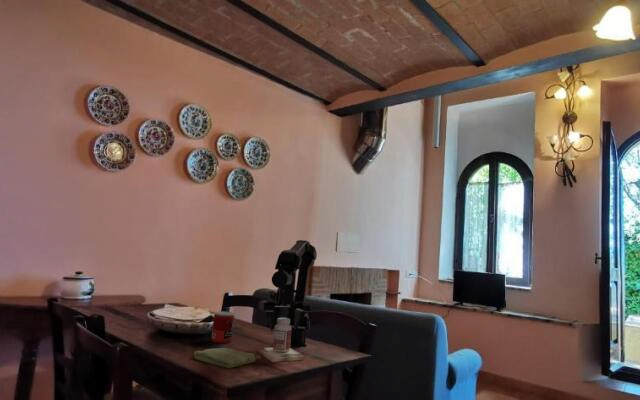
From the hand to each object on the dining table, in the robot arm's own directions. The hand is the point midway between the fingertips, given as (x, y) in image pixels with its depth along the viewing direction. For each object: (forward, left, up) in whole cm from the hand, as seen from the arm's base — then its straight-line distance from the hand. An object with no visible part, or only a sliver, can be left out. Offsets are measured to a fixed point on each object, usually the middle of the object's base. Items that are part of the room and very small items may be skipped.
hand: (283, 330), depth 151 cm
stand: (0, 0, -9) cm, 9 cm away
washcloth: (+21, +1, -10) cm, 23 cm away
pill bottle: (0, 0, -7) cm, 7 cm away
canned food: (+14, -26, -9) cm, 31 cm away
